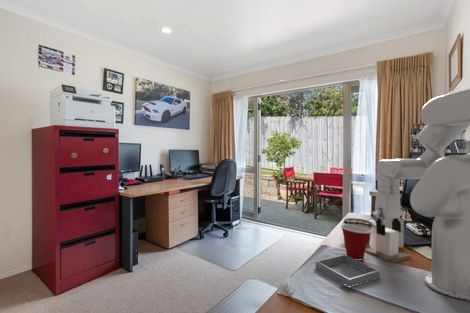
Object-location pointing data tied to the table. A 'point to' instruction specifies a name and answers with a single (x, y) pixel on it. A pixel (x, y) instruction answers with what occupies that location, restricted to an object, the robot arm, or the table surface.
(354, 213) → the table surface
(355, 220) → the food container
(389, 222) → the supplement box
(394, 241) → the carton
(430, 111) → the robot arm
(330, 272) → the bin
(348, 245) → the plastic cup
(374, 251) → the beige square coaster
